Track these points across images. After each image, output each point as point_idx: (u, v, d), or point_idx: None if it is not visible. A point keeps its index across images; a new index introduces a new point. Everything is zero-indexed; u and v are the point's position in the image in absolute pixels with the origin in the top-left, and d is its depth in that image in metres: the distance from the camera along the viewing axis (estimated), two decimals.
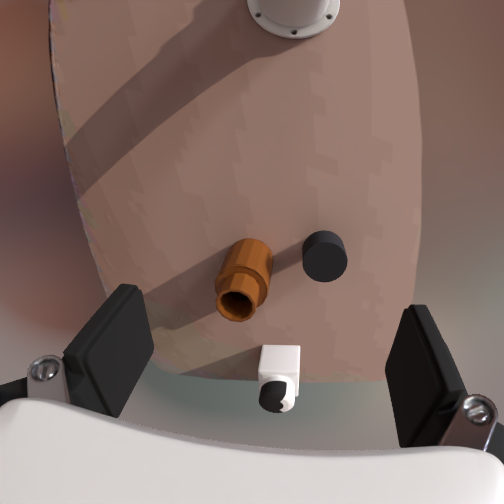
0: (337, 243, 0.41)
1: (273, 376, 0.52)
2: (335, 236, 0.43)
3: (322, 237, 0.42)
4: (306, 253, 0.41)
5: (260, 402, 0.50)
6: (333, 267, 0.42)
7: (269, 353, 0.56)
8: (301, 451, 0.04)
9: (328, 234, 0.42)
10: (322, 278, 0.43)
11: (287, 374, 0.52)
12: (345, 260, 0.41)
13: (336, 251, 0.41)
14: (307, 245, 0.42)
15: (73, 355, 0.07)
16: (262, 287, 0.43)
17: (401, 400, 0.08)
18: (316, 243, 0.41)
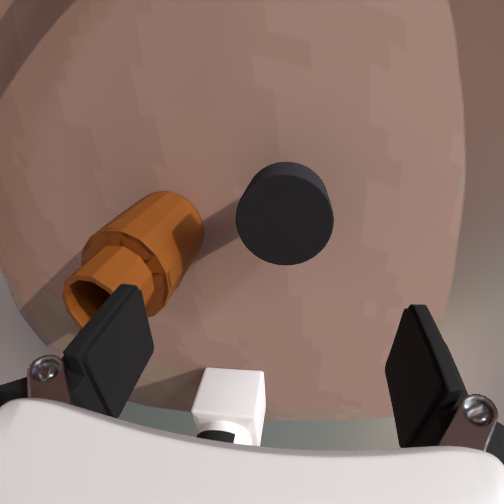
0: (309, 179, 0.18)
1: (215, 421, 0.30)
2: (308, 170, 0.21)
3: (278, 169, 0.20)
4: (242, 201, 0.19)
5: None
6: (302, 233, 0.20)
7: (213, 382, 0.34)
8: (301, 451, 0.04)
9: (292, 166, 0.20)
10: (281, 257, 0.20)
11: (238, 420, 0.30)
12: (329, 216, 0.19)
13: (308, 195, 0.18)
14: (247, 187, 0.20)
15: (73, 355, 0.07)
16: (157, 275, 0.21)
17: (401, 400, 0.08)
18: (262, 178, 0.18)
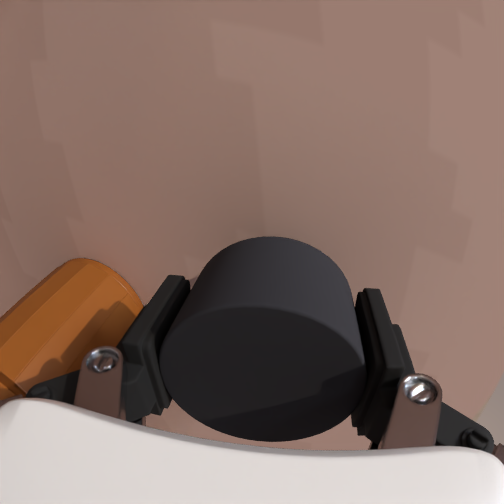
0: (322, 307, 0.08)
1: None
2: (317, 263, 0.10)
3: (247, 271, 0.09)
4: (165, 349, 0.08)
5: None
6: (298, 407, 0.09)
7: None
8: (301, 451, 0.04)
9: (283, 256, 0.09)
10: (255, 432, 0.09)
11: None
12: (358, 383, 0.08)
13: (316, 349, 0.07)
14: (183, 305, 0.09)
15: (134, 344, 0.08)
16: None
17: None
18: (204, 308, 0.08)
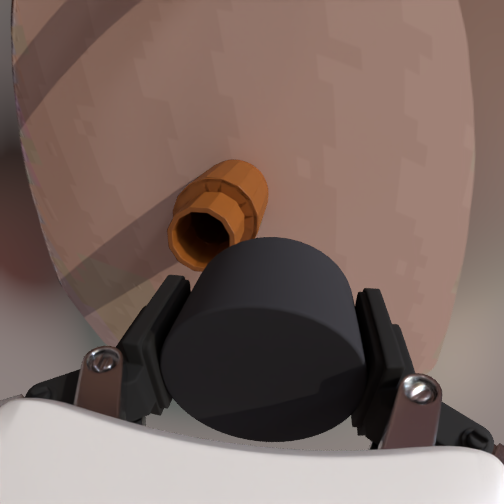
0: (323, 308, 0.08)
1: None
2: (317, 263, 0.10)
3: (248, 271, 0.09)
4: (166, 350, 0.08)
5: None
6: (298, 407, 0.09)
7: None
8: (301, 451, 0.04)
9: (283, 257, 0.09)
10: (255, 433, 0.09)
11: None
12: (358, 384, 0.08)
13: (317, 350, 0.07)
14: (183, 306, 0.09)
15: (134, 344, 0.08)
16: (249, 217, 0.26)
17: None
18: (206, 309, 0.08)
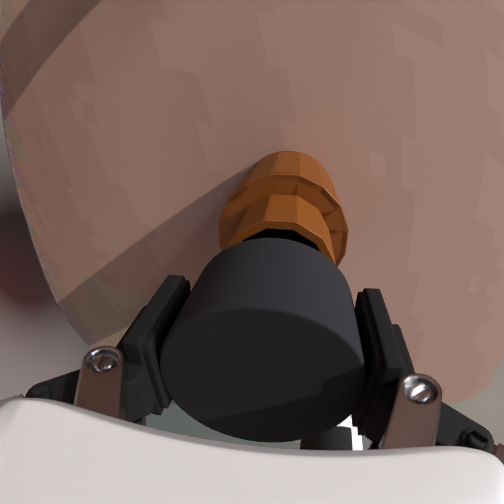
0: (322, 309, 0.08)
1: None
2: (317, 264, 0.10)
3: (247, 272, 0.09)
4: (166, 350, 0.08)
5: None
6: (298, 408, 0.09)
7: None
8: (301, 451, 0.04)
9: (283, 258, 0.09)
10: (255, 433, 0.09)
11: None
12: (357, 384, 0.08)
13: (315, 350, 0.07)
14: (183, 307, 0.09)
15: (134, 344, 0.08)
16: (335, 233, 0.17)
17: None
18: (205, 310, 0.08)
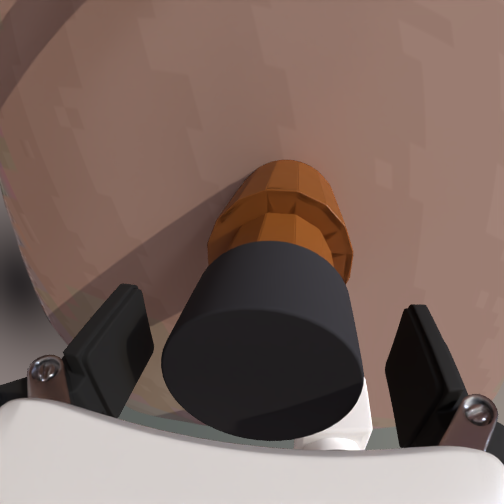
0: (319, 310, 0.08)
1: (324, 440, 0.24)
2: (315, 266, 0.10)
3: (247, 274, 0.09)
4: (168, 350, 0.08)
5: None
6: (296, 406, 0.09)
7: None
8: (301, 451, 0.04)
9: (281, 260, 0.10)
10: (255, 432, 0.10)
11: (352, 434, 0.24)
12: (355, 383, 0.08)
13: (313, 350, 0.08)
14: (184, 308, 0.09)
15: (73, 355, 0.07)
16: (338, 256, 0.15)
17: (401, 400, 0.08)
18: (206, 311, 0.08)
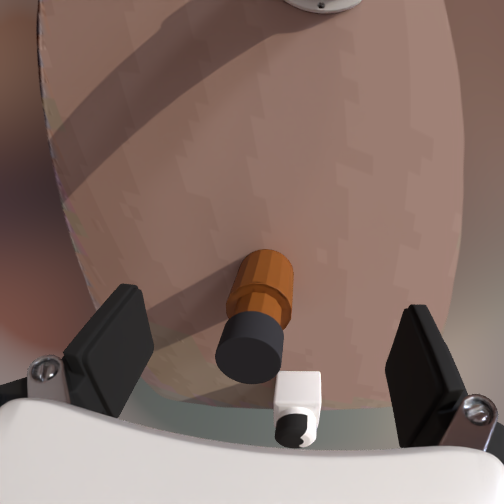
0: (264, 337, 0.27)
1: (291, 408, 0.43)
2: (266, 321, 0.29)
3: (243, 325, 0.28)
4: (218, 349, 0.27)
5: (276, 438, 0.41)
6: (260, 368, 0.28)
7: (286, 381, 0.47)
8: (301, 451, 0.04)
9: (255, 320, 0.29)
10: (246, 379, 0.29)
11: (308, 405, 0.43)
12: (277, 360, 0.27)
13: (263, 349, 0.27)
14: (223, 335, 0.28)
15: (73, 355, 0.07)
16: (285, 310, 0.34)
17: (401, 400, 0.08)
18: (231, 337, 0.27)
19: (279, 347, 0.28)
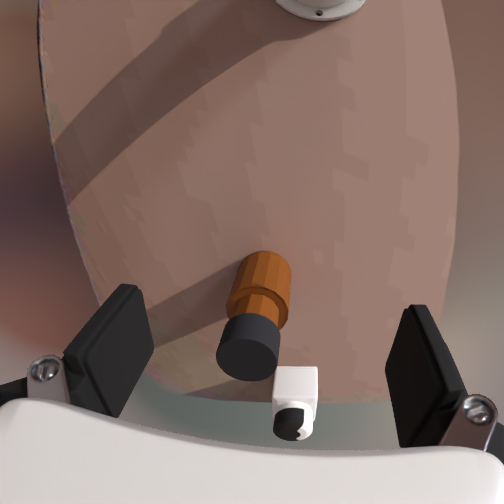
0: (262, 338, 0.29)
1: (289, 402, 0.45)
2: (264, 323, 0.31)
3: (242, 327, 0.30)
4: (219, 349, 0.29)
5: (275, 431, 0.43)
6: (257, 367, 0.30)
7: (284, 376, 0.49)
8: (301, 451, 0.04)
9: (253, 322, 0.30)
10: (245, 377, 0.31)
11: (305, 400, 0.45)
12: (274, 360, 0.29)
13: (260, 349, 0.29)
14: (223, 336, 0.30)
15: (73, 355, 0.07)
16: (282, 310, 0.36)
17: (401, 400, 0.08)
18: (231, 338, 0.29)
19: (275, 347, 0.30)
